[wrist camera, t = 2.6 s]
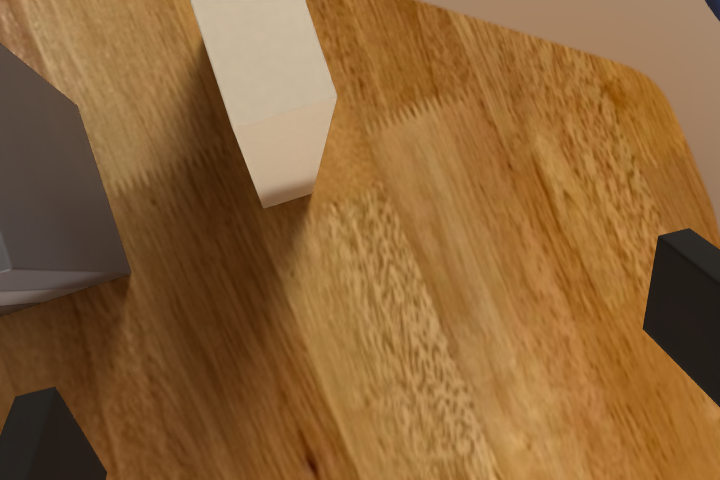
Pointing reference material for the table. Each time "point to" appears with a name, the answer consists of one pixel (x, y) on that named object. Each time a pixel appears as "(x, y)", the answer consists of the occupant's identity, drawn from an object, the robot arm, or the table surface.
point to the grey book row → (49, 196)
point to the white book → (271, 89)
